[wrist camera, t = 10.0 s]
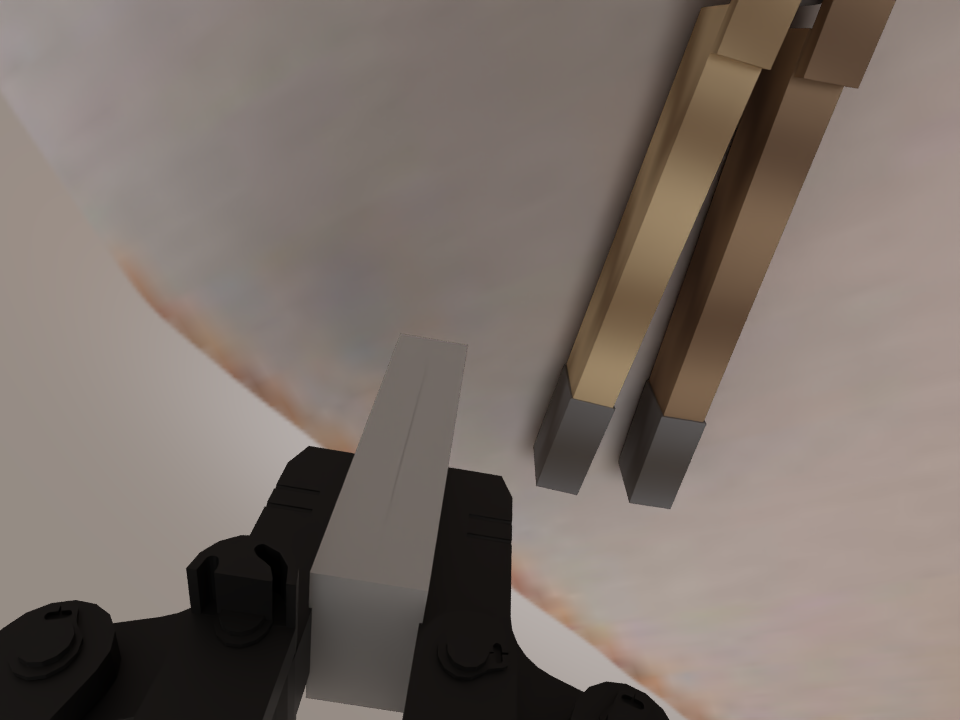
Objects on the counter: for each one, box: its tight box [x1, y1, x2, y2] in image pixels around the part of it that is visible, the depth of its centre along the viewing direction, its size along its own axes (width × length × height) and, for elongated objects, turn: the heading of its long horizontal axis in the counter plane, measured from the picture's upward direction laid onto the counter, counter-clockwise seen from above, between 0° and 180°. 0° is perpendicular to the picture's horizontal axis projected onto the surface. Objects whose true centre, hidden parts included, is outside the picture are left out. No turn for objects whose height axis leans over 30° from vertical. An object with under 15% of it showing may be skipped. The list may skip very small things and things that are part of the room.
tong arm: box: [533, 0, 801, 495], centre depth 24 cm, size 22×2×4 cm, turn 165°
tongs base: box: [619, 0, 896, 509], centre depth 24 cm, size 23×4×4 cm, turn 171°
